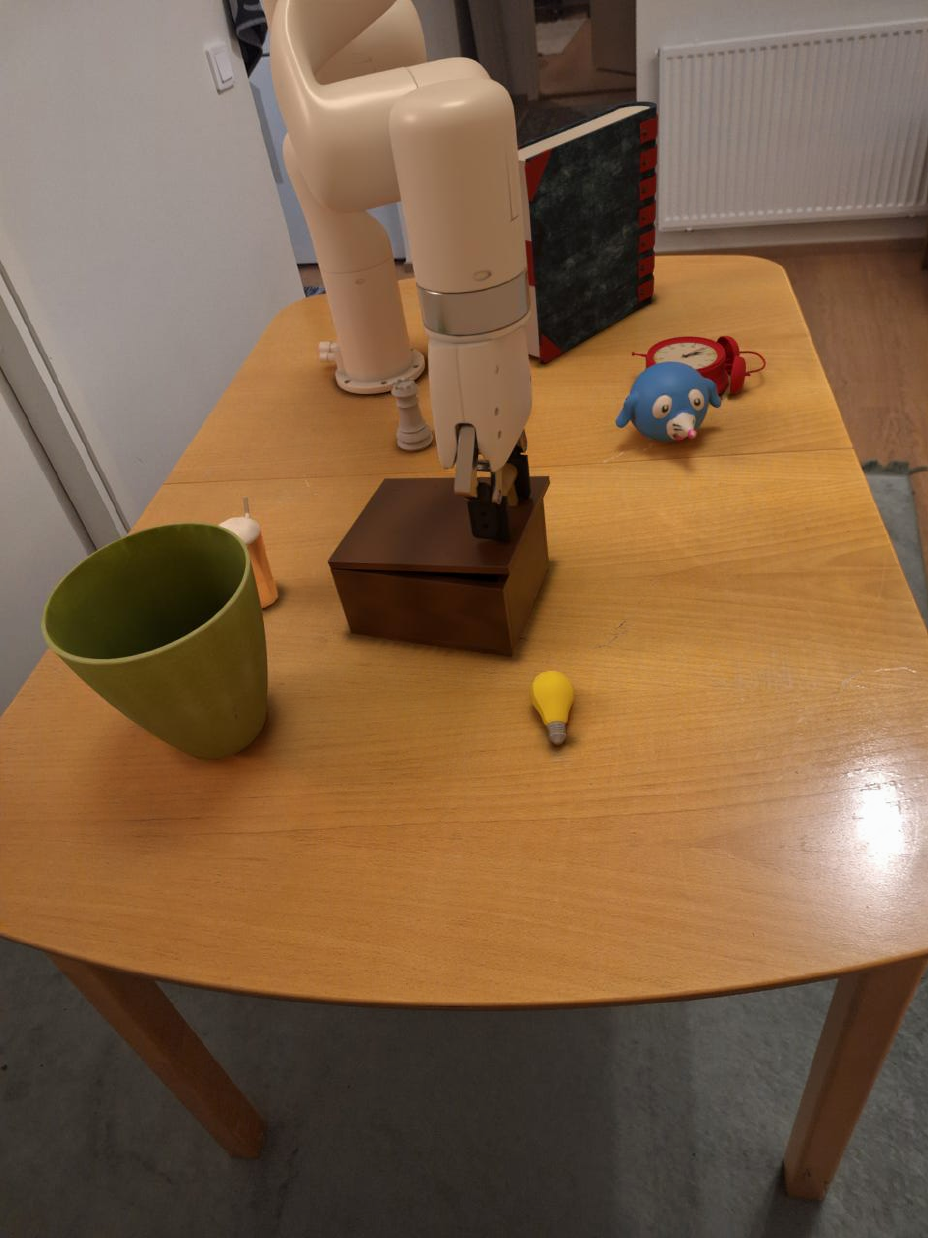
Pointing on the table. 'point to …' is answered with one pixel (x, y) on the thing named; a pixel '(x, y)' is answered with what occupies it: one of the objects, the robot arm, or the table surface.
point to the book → (589, 225)
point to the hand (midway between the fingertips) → (502, 513)
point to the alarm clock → (705, 358)
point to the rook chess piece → (410, 417)
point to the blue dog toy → (668, 402)
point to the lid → (434, 528)
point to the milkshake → (255, 554)
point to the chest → (448, 601)
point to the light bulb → (553, 702)
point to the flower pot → (169, 635)
